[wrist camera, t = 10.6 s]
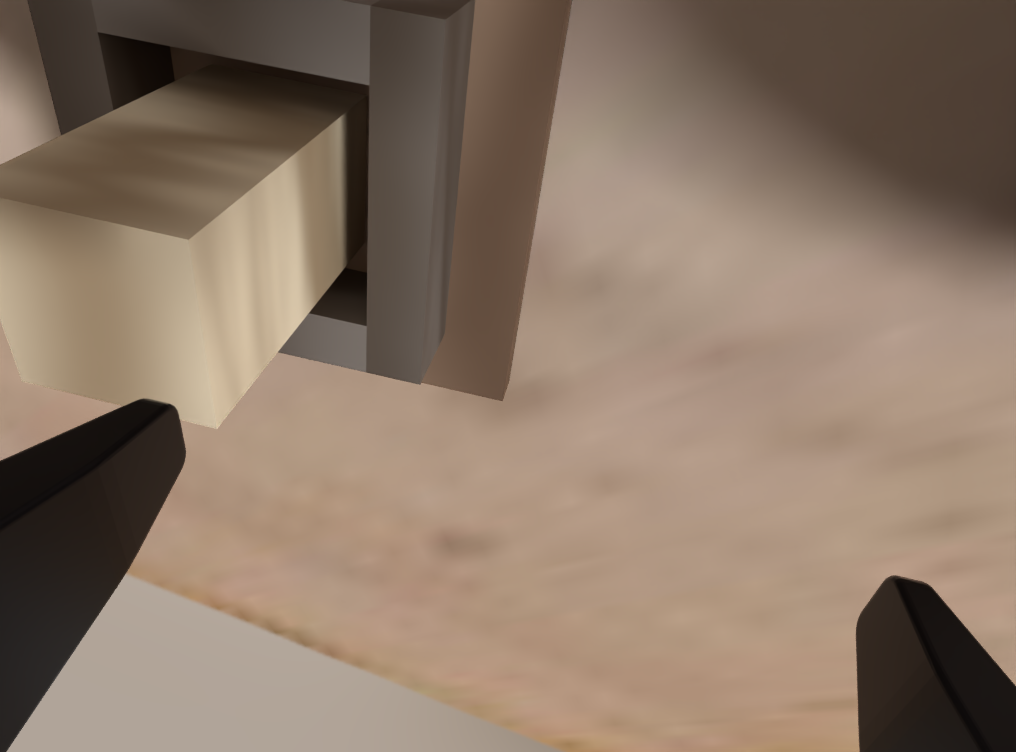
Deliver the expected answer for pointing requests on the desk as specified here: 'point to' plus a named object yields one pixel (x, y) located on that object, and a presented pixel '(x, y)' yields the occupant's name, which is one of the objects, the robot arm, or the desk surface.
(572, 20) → the desk surface
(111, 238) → the maple peg
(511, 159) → the socket holder
